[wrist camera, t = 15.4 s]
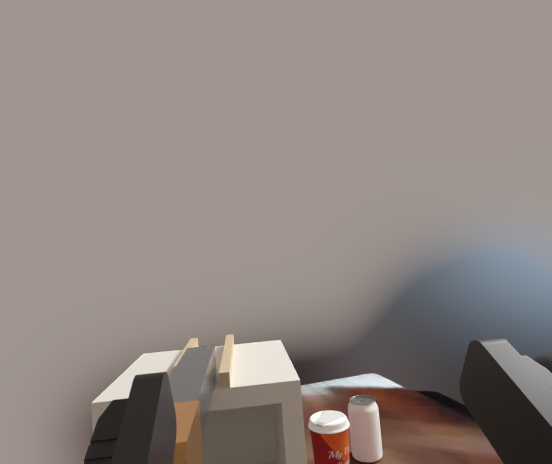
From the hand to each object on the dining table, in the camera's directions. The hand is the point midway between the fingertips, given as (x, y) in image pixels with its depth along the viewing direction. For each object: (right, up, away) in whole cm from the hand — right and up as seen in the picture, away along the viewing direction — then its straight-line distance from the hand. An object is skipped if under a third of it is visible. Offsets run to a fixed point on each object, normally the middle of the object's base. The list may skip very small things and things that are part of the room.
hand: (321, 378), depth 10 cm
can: (+19, -45, +75) cm, 89 cm away
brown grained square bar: (-8, -11, +21) cm, 25 cm away
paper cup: (+10, -45, +62) cm, 77 cm away
